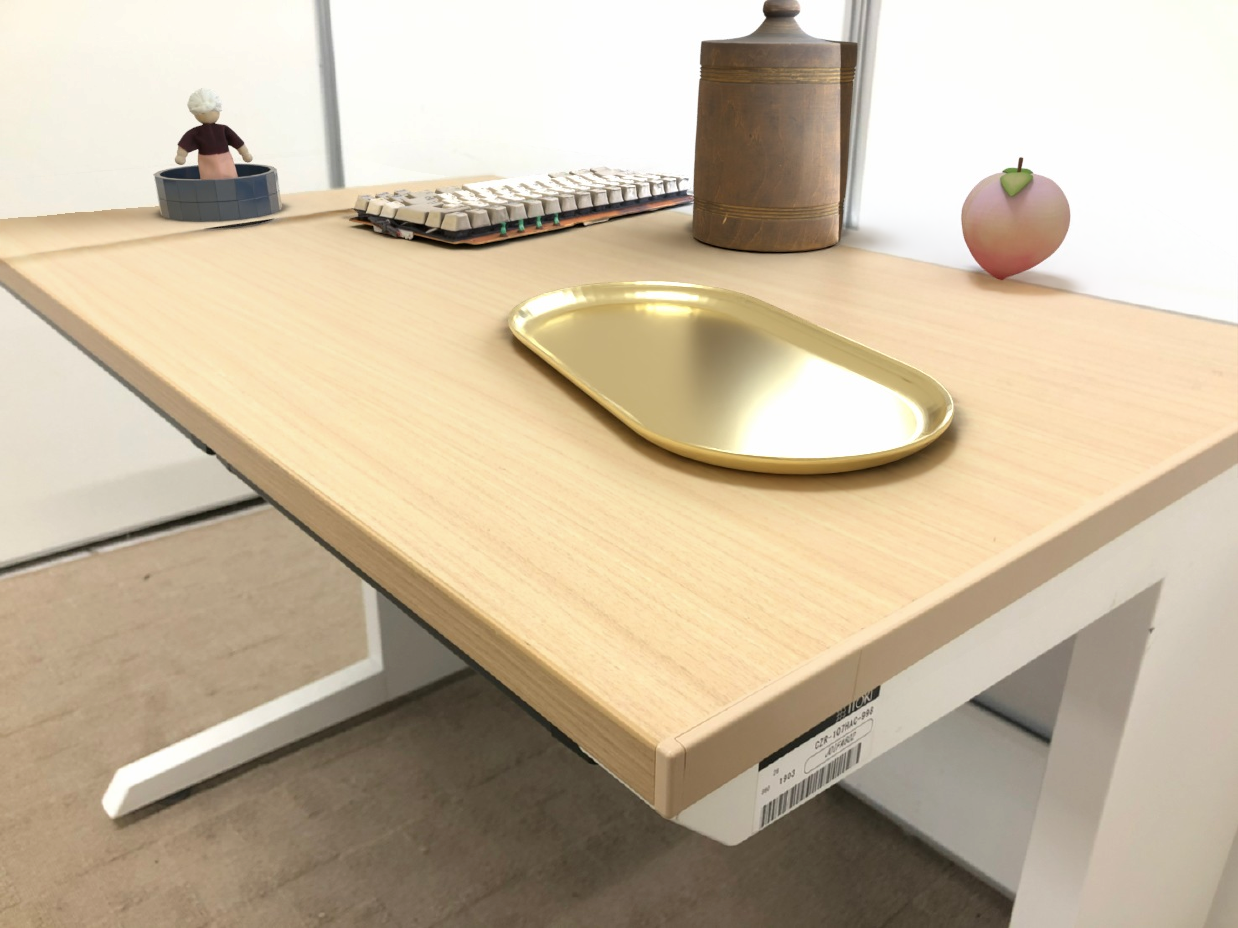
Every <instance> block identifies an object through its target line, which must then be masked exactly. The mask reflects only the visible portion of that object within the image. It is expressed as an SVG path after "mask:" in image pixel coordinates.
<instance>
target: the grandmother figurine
mask: <svg viewBox="0 0 1238 928" xmlns="http://www.w3.org/2000/svg"><path fill="white" fill-rule="evenodd" d="M222 105H223V104H222V100H221V99H220V98H219V95H218V94H217V93H216V92H215V90H213V89H212V88H206V87H202V88H199V89H197V90H194V92H192V93H191V94H190V95H189V98H188V101H187V104H186V106H187V108H188V110H189V111H188V112H189V113H191V114H192V115H193V116H194V118H195V119H196V121H197V122H198V123H200V125H196V126H194V127H191V128H190V129H188V130H187V131H186V132H184V134H183V135H182V136H181V137H180V140H178V142H177V150H176V156H175V157H174V162H175V164H176V165H179V166H184V165H185V164H186V160H187V157H188V155H189V153H193V152H194V151H197V165H198V166H199V172H200V179H223V178H236V177H238V176H237V172H236V168H235V164H236V163H235V161H234V158H233V155H232V153H231V151H230V148H229V147H232V148H233V149H235V150H236V151H237V153H238V154H239V155H240V156H241V158H242V161H243V162H245V163H246V164H249V163H251V162H252V161H253V159H254V158H253V155H252V154H251V153H250V152H249V149H248V148H247V146H246V143H245V141H244V140H243V139H242V138H241V137H240V136H239V135H238V134H237V132H235V131H234V130H233V129H232V128H231V127H229V125H227V124H222V123H217V122H218V120H219V118H220V114H221V113H220V112H222V111H223V109H222ZM234 163H235V164H234Z"/></svg>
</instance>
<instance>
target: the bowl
mask: <svg viewBox="0 0 1238 928" xmlns="http://www.w3.org/2000/svg"><path fill="white" fill-rule="evenodd" d="M234 164H235V168H236V172H237V176H238V177H236V178H223V179H200V172H199V166H198V164H195V165H194V164H193V165H182V166H178V167H171V168H166V169H162V170H158V171H156V172H155V173H153V179H154V185H155V191H156V197H157V202H158V207H159V212H160V216H161V217H162V218H164V219H167V220H171V221H178V222H191V223H192V222H196V223H197V222H198V223H206V222H207V223H209V222H229V221H230V222H231V221H240V220H248V219H255V218H260V217H265V216H270V215H273V214H275V213H278V212H280V211H281V210H282V208H283V205H282V197H281V190H280V184H279V183H280V182H279V176H278V175H279V174H278V169H277V168H276V167H274V166H272V165H268V164H259V163H239V162H238V163H237V162H236V163H235V162H234ZM273 220H275V218H274V217H273V218H268V219H262V220H261V219H259V220H255V221H254V220H253V221H247V222H239V223H233V224H226V225H218V226H212V227H205V228H203V229H204V230H208V229H209V230H216V229H233V228H241V227H243V228H244V227H249V226H255V225H260V224H264V223H268V222H270V221H273Z"/></svg>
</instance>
